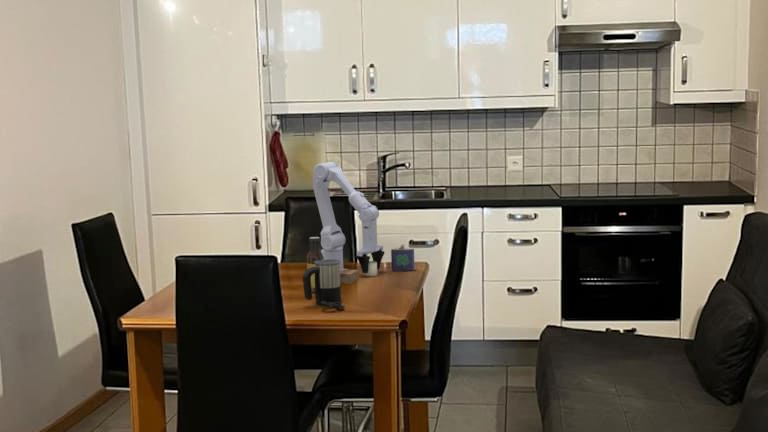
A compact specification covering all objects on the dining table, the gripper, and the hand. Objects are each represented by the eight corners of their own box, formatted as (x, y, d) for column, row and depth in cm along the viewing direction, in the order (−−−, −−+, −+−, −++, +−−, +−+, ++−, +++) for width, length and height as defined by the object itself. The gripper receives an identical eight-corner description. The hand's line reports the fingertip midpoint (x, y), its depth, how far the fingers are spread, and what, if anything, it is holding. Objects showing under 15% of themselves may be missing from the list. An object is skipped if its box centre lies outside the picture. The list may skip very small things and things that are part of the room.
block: (331, 283, 348) (330, 273, 348) (339, 279, 356) (339, 269, 355) (350, 284, 345) (350, 274, 345) (358, 280, 353) (358, 269, 352)
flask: (414, 269, 367) (413, 243, 365) (414, 271, 364) (413, 244, 363) (391, 270, 368) (390, 244, 366) (391, 271, 365) (390, 245, 363)
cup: (362, 275, 360) (361, 262, 359) (370, 273, 364) (369, 260, 363) (372, 276, 357) (371, 263, 356) (380, 274, 361) (379, 261, 360)
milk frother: (328, 299, 323) (326, 257, 321) (362, 304, 313) (360, 262, 311) (299, 307, 312) (297, 265, 310) (334, 313, 302) (332, 269, 300)
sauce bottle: (322, 293, 332) (320, 239, 329) (306, 292, 333) (303, 239, 330) (327, 289, 338) (325, 236, 335) (311, 288, 339) (308, 236, 336)
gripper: (366, 240, 350) (368, 275, 352) (388, 235, 362) (390, 268, 364) (352, 239, 354) (353, 273, 356) (374, 233, 366) (375, 267, 368)
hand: (371, 271), depth 360 cm, fingers open, 7 cm apart
